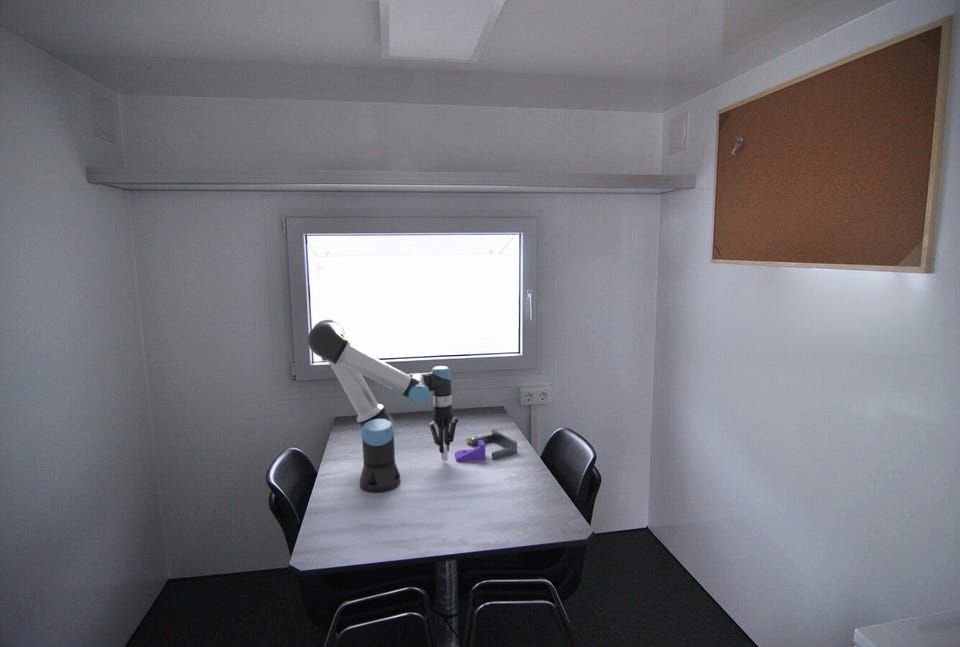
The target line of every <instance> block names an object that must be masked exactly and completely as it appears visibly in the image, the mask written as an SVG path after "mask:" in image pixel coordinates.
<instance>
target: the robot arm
mask: <svg viewBox="0 0 960 647" xmlns="http://www.w3.org/2000/svg"><path fill="white" fill-rule="evenodd" d="M344 330H345V329H344V328H343V326H342V325H341V324H340V322H338V321H336V320H333V319H323V320H321V321H319V322H317V323H316V324H315V325H314V326H313V328H312V329H311V330H310V331H309V333H308V336H307V344H308V348H309V349H310V351H311V352H312V353H313V354H315V355H316V356H319V358H320V359H321V360H322V361H323V362H326V363H328V364H329V365H330V367H331V369H332V371H333V373H334V374H335V376H336V378H337V380H338V382H339V383H340V385H341V386H342V388H343V391H344V392H345V395H346V396H347V397H348V399H349V401H350V402H351V405H352V406H353V408H354V410H355V411H356V413H357V418H356V421H357V423H358V425H359V426H360V428H361V438H362V439H361V440H362V441H361V442H362V443H361V444H362V456H363V460H362V461H363V466H362V470H361V472H360V477H359V486H360V489H362V490H363V491H365V492H368V493H384V492H388V491H391V490H394V489H395V488H397V487H398V486H400V484H401V473H400V471H399V469H398V467H397V463H396V452H395V423H394V422H395V421H394V418H393V417H392V415H391V414H390V413H389V412H388V411H387V410H386V408H385V406H384V405H383V404H380V403H378V402H377V400H376V398H375V396H374V394H373V392H372V391H371V389H370V387H369V386H368V384H367V383H368V382H366V380H365V378H364V377H366V378H369V379H370V380H372V381H374V382H376V383H378V384H380V385H382V386H384V387H386V388H388V389H390V390H392V391H394V392H396V393H398V394H400V395H402V396H403V397H406V398H408V399H409V400H410V402H411V403H412V404H413V405H416V406H422V405H424V404H427V402H428V400H429V398H430V392H432V396H433V397H432V400H433V402H432V403H433V407H432V408H433V418H432V421H431V422H428V423H427V426H428V427H429V428H430V431H431V435H432V438H433V443H434V444H435V445H437V446H438V447H439V449H438V450H439V453H440V457H441V460H442V461H444V462H445V461H446V462H447V461H448V457H449V456H448V452H449V451H450V445H451V443H453V442H454V439H455V434H456V433H455V432H456V428H457V423H458V422H459V418H457V417H455V416H454V415H453V400H452V399H453V398H452V396H453V395H452V370H451V368H450V367H448V366H446V365H438V366H433V367H432V369H431V372H419V373H417V372H416V373H412V372H410V373H406V372H404V371H401V370H399V369H398V368H396V367H394V366H392V365H390V364H388V363H386V362H384V361H383V360H381V359H379V358H377V357H375V356H372V355H371V354H369V353H367V352H365V351H364V350H361V349H359V348H357V347H355V346H354V345H352V343H351V341H350V340H349V339H347V337H346V335H345V331H344ZM436 426H437V429H436Z"/></svg>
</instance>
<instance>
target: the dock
mask: <svg viewBox="0 0 960 647" xmlns="http://www.w3.org/2000/svg"><path fill="white" fill-rule="evenodd" d="M477 437H478V438H474V439H471V444H470V446H471V447H475V446H478V440H483V441H484V443H485V444H487V443H490V442H494V443H495V444H498V445H499V446H501V447H503V448H502V449H499V450H494V451H492V452H491V460H494V461H495V460H499V459H502V458H505V457H508V456H513V455H515V454H517V453H518V442H517V441H515V440H514V439H512V438H510V437H509V436H507V435H505V434H503V433H501V432H500V431H498V430H496V429H491V434H487V435H484V436H483V435H482V436H477Z"/></svg>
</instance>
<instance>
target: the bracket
mask: <svg viewBox="0 0 960 647" xmlns="http://www.w3.org/2000/svg"><path fill="white" fill-rule="evenodd" d="M454 457H455V460H456V463H458V462H472V461H483V460H485V461H486V443H484V441H483V440H478V445H477V447H475V448H473V449H472V448H469V449H459V450H457V451H455V452H454Z"/></svg>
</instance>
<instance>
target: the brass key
mask: <svg viewBox="0 0 960 647" xmlns="http://www.w3.org/2000/svg"><path fill="white" fill-rule="evenodd" d="M478 437H479V436H477V435H476V436H473V437H470V436H468V437H466V438H465V442H466V443H467V445H471V439H474V438H478Z"/></svg>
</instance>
